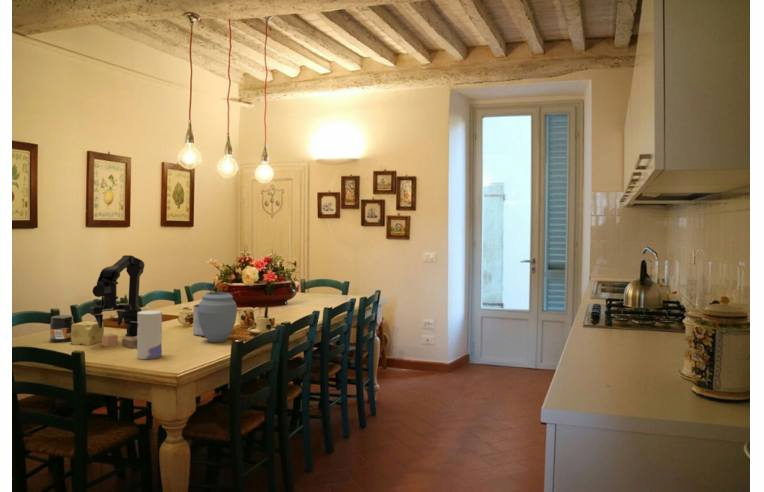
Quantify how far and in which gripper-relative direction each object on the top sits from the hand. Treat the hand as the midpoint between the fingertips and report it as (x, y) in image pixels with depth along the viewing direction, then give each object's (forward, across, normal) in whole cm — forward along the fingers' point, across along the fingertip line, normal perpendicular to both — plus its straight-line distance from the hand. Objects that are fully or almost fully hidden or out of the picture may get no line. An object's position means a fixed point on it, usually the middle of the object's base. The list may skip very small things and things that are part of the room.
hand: (109, 326), depth 274 cm
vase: (+9, -39, +31) cm, 51 cm away
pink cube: (+9, 0, 0) cm, 9 cm away
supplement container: (+9, +9, -27) cm, 30 cm away
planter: (+9, -48, +13) cm, 51 cm away
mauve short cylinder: (+9, -6, +11) cm, 16 cm away
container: (+9, +2, +36) cm, 37 cm away
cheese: (+9, +4, -13) cm, 16 cm away
